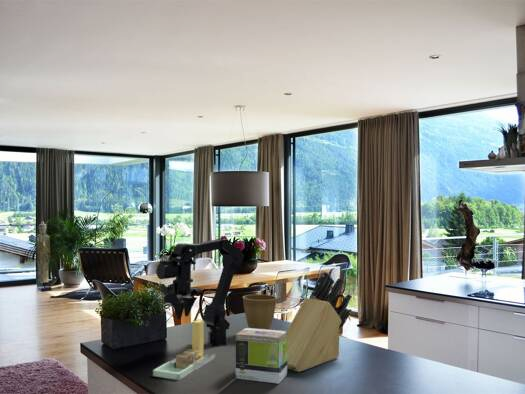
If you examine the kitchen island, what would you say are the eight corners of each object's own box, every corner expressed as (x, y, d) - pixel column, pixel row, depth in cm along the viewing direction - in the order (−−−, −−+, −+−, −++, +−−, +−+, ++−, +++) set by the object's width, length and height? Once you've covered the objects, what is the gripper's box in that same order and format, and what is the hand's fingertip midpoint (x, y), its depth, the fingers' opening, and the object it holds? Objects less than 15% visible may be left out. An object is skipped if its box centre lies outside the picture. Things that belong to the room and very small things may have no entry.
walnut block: (181, 364, 172) (182, 352, 172) (192, 365, 171) (192, 354, 171) (175, 367, 169) (176, 355, 169) (186, 369, 167) (186, 357, 167)
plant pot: (276, 338, 211) (277, 300, 211) (241, 337, 211) (242, 299, 211) (276, 329, 226) (276, 294, 226) (243, 329, 226) (243, 293, 226)
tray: (168, 370, 170) (168, 361, 170) (193, 374, 166) (193, 365, 166) (152, 379, 161) (152, 370, 161) (178, 383, 157) (178, 374, 157)
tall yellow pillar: (193, 356, 181) (194, 319, 181) (205, 357, 179) (206, 321, 179) (188, 359, 177) (188, 322, 177) (200, 360, 176) (200, 323, 176)
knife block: (354, 353, 192) (354, 272, 192) (295, 375, 166) (296, 282, 166) (329, 347, 199) (330, 269, 200) (270, 367, 174) (271, 278, 174)
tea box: (287, 374, 167) (288, 330, 167) (278, 385, 157) (279, 337, 157) (245, 369, 172) (246, 326, 172) (234, 379, 162) (234, 333, 162)
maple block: (188, 360, 177) (188, 349, 177) (198, 361, 175) (198, 350, 175) (182, 363, 173) (182, 352, 173) (193, 365, 171) (193, 353, 171)
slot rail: (190, 357, 184) (190, 349, 184) (215, 360, 180) (215, 353, 180) (168, 370, 170) (168, 362, 170) (194, 374, 166) (194, 366, 166)
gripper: (177, 272, 202) (177, 311, 202) (151, 278, 185) (150, 321, 185) (202, 274, 198) (201, 313, 198) (177, 280, 181) (177, 324, 181)
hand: (182, 317), depth 191 cm, fingers open, 5 cm apart
